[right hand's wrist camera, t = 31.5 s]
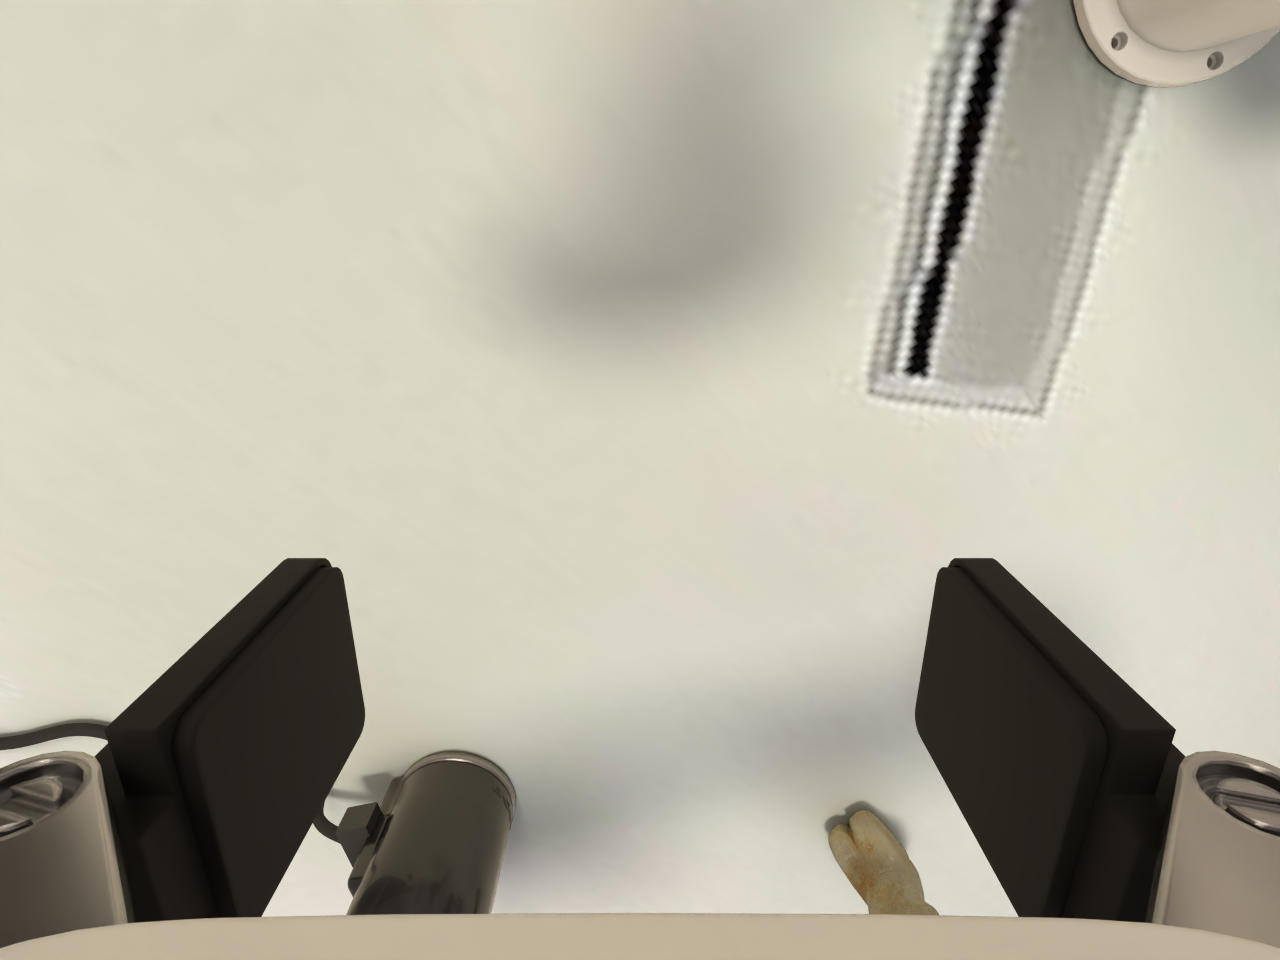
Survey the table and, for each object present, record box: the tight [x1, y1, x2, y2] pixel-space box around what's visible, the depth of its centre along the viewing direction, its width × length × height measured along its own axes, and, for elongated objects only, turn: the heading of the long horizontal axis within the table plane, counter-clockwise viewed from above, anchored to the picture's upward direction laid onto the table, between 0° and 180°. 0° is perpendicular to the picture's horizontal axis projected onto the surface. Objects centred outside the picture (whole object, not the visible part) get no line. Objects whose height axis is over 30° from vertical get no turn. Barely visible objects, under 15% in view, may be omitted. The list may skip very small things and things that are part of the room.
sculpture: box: [829, 810, 939, 915], centre depth 51 cm, size 6×7×15 cm
